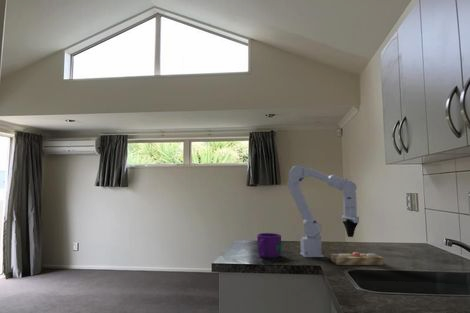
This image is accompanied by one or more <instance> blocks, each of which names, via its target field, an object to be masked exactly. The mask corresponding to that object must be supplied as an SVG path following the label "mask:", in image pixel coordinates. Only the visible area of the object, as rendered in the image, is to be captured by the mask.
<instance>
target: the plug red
mask: <svg viewBox="0 0 470 313" xmlns="http://www.w3.org/2000/svg"><path fill="white" fill-rule="evenodd" d="M352 254H353V257H360V254H361V252H359V251H353V252H352Z"/></svg>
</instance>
